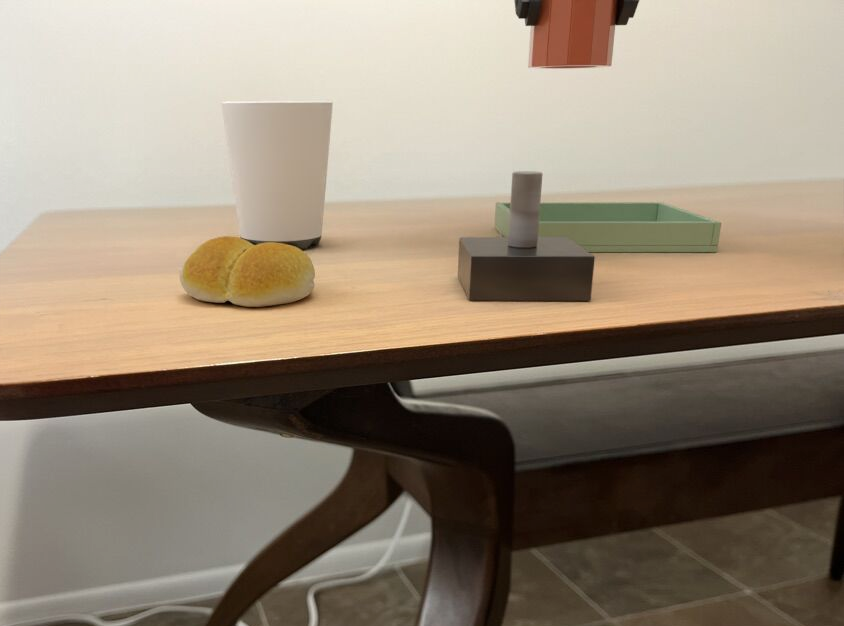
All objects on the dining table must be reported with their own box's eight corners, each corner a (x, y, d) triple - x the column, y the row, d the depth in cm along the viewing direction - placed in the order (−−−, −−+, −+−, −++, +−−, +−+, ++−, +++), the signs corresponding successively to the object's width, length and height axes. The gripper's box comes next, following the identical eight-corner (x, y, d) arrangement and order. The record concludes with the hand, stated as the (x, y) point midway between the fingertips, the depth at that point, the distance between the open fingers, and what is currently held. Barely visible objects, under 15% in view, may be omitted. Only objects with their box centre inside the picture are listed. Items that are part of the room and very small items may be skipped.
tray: (659, 227, 85) (662, 202, 84) (717, 252, 71) (721, 222, 70) (494, 227, 86) (495, 202, 85) (518, 252, 72) (520, 222, 71)
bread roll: (287, 313, 51) (285, 250, 50) (164, 302, 54) (160, 242, 53) (335, 287, 58) (334, 231, 57) (225, 278, 61) (222, 225, 60)
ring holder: (564, 277, 61) (573, 167, 59) (590, 301, 54) (603, 177, 51) (457, 276, 62) (462, 168, 59) (469, 300, 54) (475, 177, 51)
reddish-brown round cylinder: (598, 68, 63) (607, -33, 61) (620, 65, 57) (631, -46, 55) (522, 69, 63) (529, -32, 61) (537, 65, 58) (545, -45, 55)
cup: (270, 258, 69) (265, 100, 65) (207, 244, 76) (199, 101, 72) (355, 245, 76) (356, 100, 71) (290, 233, 83) (287, 101, 79)
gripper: (471, -180, 62) (484, -31, 54) (663, -184, 61) (702, -33, 54) (460, -86, 68) (471, 59, 61) (633, -89, 68) (664, 57, 61)
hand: (579, 15), depth 58 cm, fingers closed on reddish-brown round cylinder, 6 cm apart
